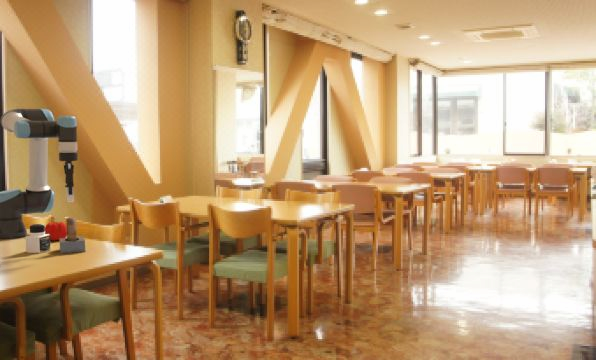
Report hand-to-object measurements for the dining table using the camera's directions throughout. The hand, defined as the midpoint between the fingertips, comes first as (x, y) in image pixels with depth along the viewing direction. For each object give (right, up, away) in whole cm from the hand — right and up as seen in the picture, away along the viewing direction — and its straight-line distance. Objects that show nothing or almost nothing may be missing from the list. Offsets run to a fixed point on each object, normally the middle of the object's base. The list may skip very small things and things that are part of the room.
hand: (70, 200), depth 241 cm
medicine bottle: (-14, -23, +1) cm, 27 cm away
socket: (0, -22, +2) cm, 22 cm away
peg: (0, -22, +2) cm, 22 cm away
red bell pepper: (-18, -21, +26) cm, 38 cm away
